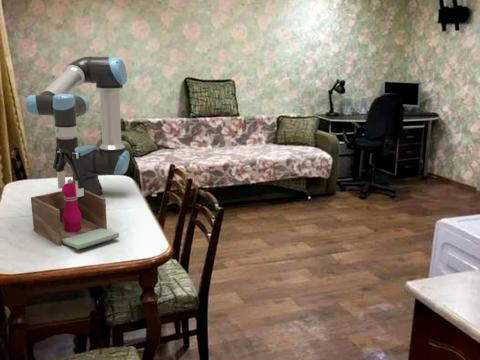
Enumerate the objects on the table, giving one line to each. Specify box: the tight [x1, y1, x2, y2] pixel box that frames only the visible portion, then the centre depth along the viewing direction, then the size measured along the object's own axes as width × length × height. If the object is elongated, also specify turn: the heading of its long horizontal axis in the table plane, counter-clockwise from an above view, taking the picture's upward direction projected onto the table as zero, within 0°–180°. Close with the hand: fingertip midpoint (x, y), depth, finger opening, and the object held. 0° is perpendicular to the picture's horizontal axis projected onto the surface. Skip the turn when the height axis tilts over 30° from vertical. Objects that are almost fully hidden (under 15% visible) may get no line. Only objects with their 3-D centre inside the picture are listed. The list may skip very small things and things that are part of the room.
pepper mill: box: [61, 178, 82, 232], centre depth 186 cm, size 7×7×20 cm
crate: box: [30, 190, 108, 247], centre depth 189 cm, size 20×20×14 cm
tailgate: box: [62, 228, 120, 251], centre depth 181 cm, size 17×2×12 cm
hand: (70, 192), depth 185 cm, fingers open, 13 cm apart
